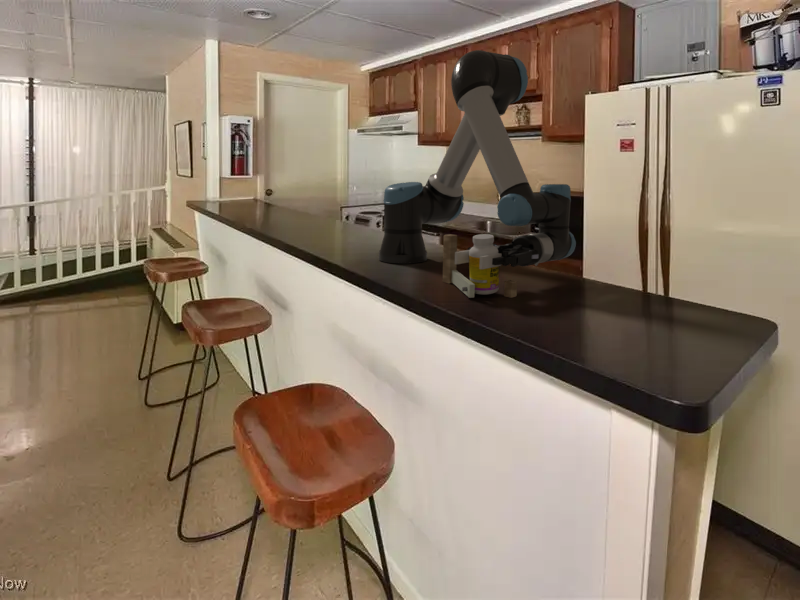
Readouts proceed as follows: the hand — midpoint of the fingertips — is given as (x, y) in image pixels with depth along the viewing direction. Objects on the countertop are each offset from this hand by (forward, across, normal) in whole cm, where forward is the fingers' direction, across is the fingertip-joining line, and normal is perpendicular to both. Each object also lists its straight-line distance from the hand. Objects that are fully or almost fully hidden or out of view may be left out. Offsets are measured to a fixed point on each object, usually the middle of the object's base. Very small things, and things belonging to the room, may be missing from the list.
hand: (468, 260), depth 118 cm
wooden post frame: (-9, +5, -9) cm, 14 cm away
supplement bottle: (-6, 0, -8) cm, 10 cm away
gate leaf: (-4, +6, -8) cm, 11 cm away
